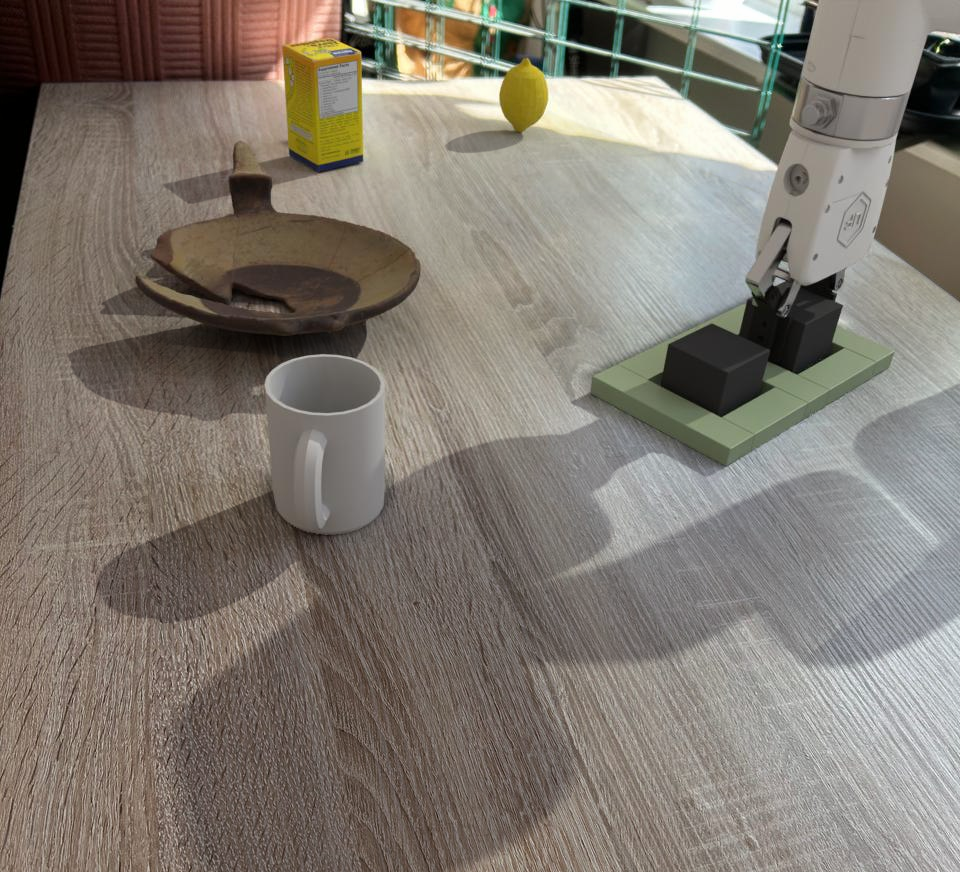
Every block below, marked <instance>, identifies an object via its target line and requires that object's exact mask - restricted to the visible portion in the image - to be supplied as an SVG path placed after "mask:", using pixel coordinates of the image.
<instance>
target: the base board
mask: <svg viewBox="0 0 960 872" xmlns="http://www.w3.org/2000/svg"><path fill="white" fill-rule="evenodd" d="M746 303H747V302H745V303H742V304H740V305H738V306H736V307H734V308H732V309H730V310H727V311H725V312H724V313H721V314H719V315H717V316H715V317H713V318H711V319H709V320H707V321H705V322H702V323H700V324H698V325H696V326H694V327H693V328H690V329H688V330H686V331H684V332H682V333H680V334H677V335H676V336H674V337H672V338H670V339H666V340H665V341H663V342H661V343H659V344H657V345H655V346H652V347H651V348H649V349H647V350H644V351H642V352H640V353H638V354H635V355H634V356H631V357H630V358H628V359H625V360H623V361H621V362H619V363H618V364H615V365H613V366H611V367H609V368H607V369H604V370H603V371H600V372H598V373H596V374H594V375H592V378H591V384H590V390H589V391H590V392H589V393H590V394H591V395H592V396H595V397H596V398H598V399H600V400H602V401H604V402H606V403H608V404H609V405H611V406H613V407H614V408H617V409H619V410H621V411H623V412H624V413H626V414H627V415H629V416H632V417H633V418H635V419H637V420H639V421H641V422H643V423H645V424H647V425H648V426H650V427H652V428H654V429H656V430H658V431H659V432H661V433H663V434H665V435H667V436H668V437H671V438H673V439H674V440H677V441H678V442H680V443H682V444H684V445H685V446H687V447H689V448H691V449H693V450H695V451H696V452H698V453H700V454H702V455H704V456H705V457H707V458H709V459H711V460H713V461H716V462H717V463H718V464H719V463H720V464H721V465H723V466H724V467H727V466H729V465H730V464H732V463H734V462H736V461H738V460H739V459H741V458H742V457H744V456H745V455H747V454H749V453H750V452H752V451H753V450H755V449H757V448H759V447H761V446H762V445H764V444H765V443H767V442H768V441H770V440H772V439H773V438H775V437H777V436H778V435H780V434H781V433H784V432H785V431H787V430H788V429H790V428H792V427H793V426H795V425H796V424H798V423H800V422H801V421H804V420H805V419H806V418H808V417H810V416H811V415H813V414H815V413H816V412H818V411H820V410H821V409H823V408H825V407H827V405H829V404H831V403H832V402H834V401H837V400H838V399H839V398H841V397H843V396H844V395H846V394H848V393H850V392H851V391H853V390H855V389H856V388H857V387H859V386H861V385H862V384H865V383H866V382H867V381H869V380H871V379H872V378H874V377H876V376H877V375H878V374H880V373H882V372H883V371H885V370H888V369H889V368H890V367H891V363H892V361H893V358H894V355H895V351H896V350H894V349H892V348H890V347H887V346H884V345H883V344H881V343H877V342H875V341H873V340H871V339H868V338H866V337H864V336H862V335H860V334H857V333H855V332H852V331H850V330H848V329H845V328H843V327H841V326H838V325H837V327H836V331H835V334H834V337H833V341H832V344H831V347H830V351H829V354H828V356H827V357H825V358H823V359H821V360H820V361H818V362H816V363H814V364H813V365H811V366H809V367H807V368H805V369H804V370H802V371H800V372H798V373H797V374H794V373H792V372H790V371H788V370H786V369H783V368H781V367H779V366H777V365H775V364H773V363H771V362H769V361H767V365H766V369H765V373H764V376H763V380H762V384H761V388H760V392H759V395H758V397H757V398H755V399H753V400H752V401H750V402H748V403H746V404H744V405H743V406H741V407H739V408H737V409H736V410H734V411H732V412H730V413H729V414H727V415H725V416H723V417H722V418H721V417H719V416H717V415H715V414H713V413H711V412H709V411H707V410H705V409H704V408H702V407H700V406H698V405H696V404H694V403H692V402H690V401H688V400H686V399H684V398H682V397H680V396H678V395H676V394H674V393H672V392H670V391H668V390H667V389H665V388H663V387H661V386H660V385H661V380H662V374H663V369H664V364H665V359H666V354H667V348H668V344H669V343H672V342H674V341H676V340H678V339H680V338H682V337H684V336H686V335H688V334H690V333H692V332H695V331H697V330H699V329H701V328H703V327H705V326H707V325H709V324H711V323H713V324H715V325H717V326H719V327H721V328H723V329H726V330H728V331H730V332H732V333H734V334H736V335H739V332H740V328H741V324H742V319H743V315H744V311H745V307H746Z"/></svg>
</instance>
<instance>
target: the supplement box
mask: <svg viewBox="0 0 960 872" xmlns="http://www.w3.org/2000/svg"><path fill="white" fill-rule="evenodd" d="M281 48H282V62H283V78H284V79H283V80H284V97H285V111H286V125H287V126H286V127H287V144H288V156H289V157H290V158H292V159H294V160H296V161H297V162H300V163H301V164H302V165H304V166H306V167H308V168H310V169H311V170H314V171H316V172H317V173H320V172H325V171H328V170H332V169H336V168H341V167H345V166H348V165H353V164H359V163H363V162H364V128H363V127H364V124H363V123H364V122H363V121H364V120H363V118H364V117H363V78H362V77H363V76H362V75H363V73H362V71H363V70H362V68H363V67H362V51H361V50H359V49H357V48H354V47H352V46H349V45H348V44H346V43H343V42H341V41H338V40H337V39H335V38H332V37H326V38H320V39H314V40H313V39H312V40H306V41H301V42H300V41H299V42H295V43H294V42H293V43H288V44H287V43H286V44H282V45H281Z"/></svg>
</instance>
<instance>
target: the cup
mask: <svg viewBox="0 0 960 872" xmlns="http://www.w3.org/2000/svg"><path fill="white" fill-rule="evenodd" d="M264 381H265V382H264V396H265V397H264V398H265V409H266V410H265V411H266V421H267V432H268V443H269V456H270V457H269V458H270V468H271V481H272V493H273V498H274V503H275V509H276V511H277V512H278V514H279V515H280V516H281V517H282V519H283V520H284V521H285V522H287V523H288V524H289V523H290V524H289V525H291V526H292V525H293V526H292V527H294V528H295V527H296V529H298V528H299V529H298V530H300V529H301V530H300V531H302V530H303V532H305V531H306V532H305V533H309V532H311V533H310V534H313V533H316V534H315V535H318V534H322V535H321V536H338V535H344V534H345V535H346V534H350V533H353V532H355V531H359V530H361V529H363V528H364V527H366V526H368V525H370V524H371V523H372V522H373V521H374V520H375V519H376V518H377V517H378V516H379V515H380V513H381V511H382V510H383V508H384V505H385V493H386V381H385V379H384V377H383V374H382V373H381V372H380V371H379V370H377V368H376V367H375V366H372V365H371V364H369V363H367V362H366V361H363V360H360V359H357V358H354V357H350V356H345V355H339V354H325V353H323V354H322V353H321V354H310V355H304V356H300V357H295V358H292V359H289V360H287V361H284V362H282V363H280V364H278V365H277V366H276V367H274V368H273V369H271V371H270V372H269V373H268V374H267V376H266V377H265V380H264ZM323 534H324V535H323ZM329 534H330V535H329ZM337 534H338V535H337Z"/></svg>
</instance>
